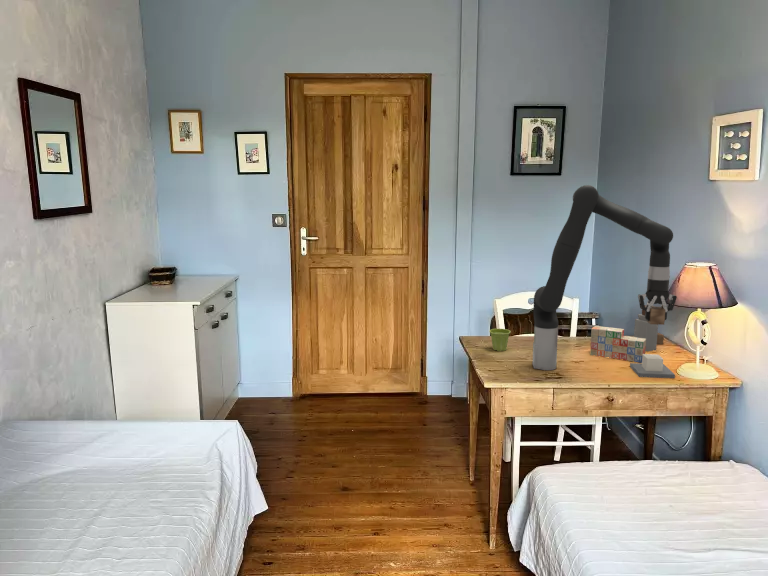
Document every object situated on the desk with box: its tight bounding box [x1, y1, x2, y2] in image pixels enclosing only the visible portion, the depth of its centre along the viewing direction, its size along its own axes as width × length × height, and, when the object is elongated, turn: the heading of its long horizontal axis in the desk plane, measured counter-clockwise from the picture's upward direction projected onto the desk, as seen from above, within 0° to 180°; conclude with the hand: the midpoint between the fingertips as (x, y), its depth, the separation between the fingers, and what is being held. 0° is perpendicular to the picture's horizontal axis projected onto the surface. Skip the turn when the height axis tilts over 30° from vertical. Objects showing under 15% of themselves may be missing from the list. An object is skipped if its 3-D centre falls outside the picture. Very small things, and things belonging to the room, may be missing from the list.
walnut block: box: [647, 306, 666, 326], centre depth 222 cm, size 5×5×6 cm
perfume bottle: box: [633, 309, 659, 353], centre depth 256 cm, size 7×7×18 cm
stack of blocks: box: [589, 325, 646, 364], centre depth 245 cm, size 21×6×12 cm, turn 55°
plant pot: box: [489, 328, 511, 352], centre depth 259 cm, size 9×9×9 cm
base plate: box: [629, 353, 676, 379], centre depth 225 cm, size 13×13×6 cm
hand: (655, 320), depth 222 cm, fingers closed on walnut block, 5 cm apart
